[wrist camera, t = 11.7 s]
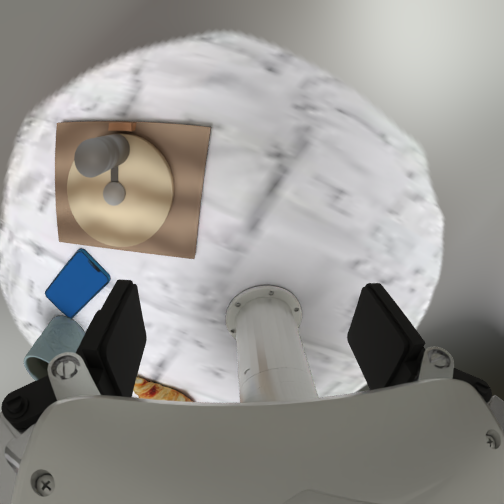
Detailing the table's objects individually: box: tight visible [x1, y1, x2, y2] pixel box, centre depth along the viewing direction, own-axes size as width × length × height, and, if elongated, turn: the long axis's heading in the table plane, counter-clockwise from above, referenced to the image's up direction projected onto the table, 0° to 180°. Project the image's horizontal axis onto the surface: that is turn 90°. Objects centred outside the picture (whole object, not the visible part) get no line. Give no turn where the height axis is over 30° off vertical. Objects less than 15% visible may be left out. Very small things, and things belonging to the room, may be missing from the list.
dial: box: [67, 133, 174, 247], centre depth 30 cm, size 15×15×9 cm
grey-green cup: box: [24, 316, 85, 381], centre depth 41 cm, size 10×10×12 cm
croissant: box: [133, 377, 193, 402], centre depth 54 cm, size 21×10×8 cm, turn 40°
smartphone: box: [45, 249, 110, 318], centre depth 42 cm, size 7×1×15 cm
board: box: [55, 121, 211, 259], centre depth 34 cm, size 18×22×4 cm
